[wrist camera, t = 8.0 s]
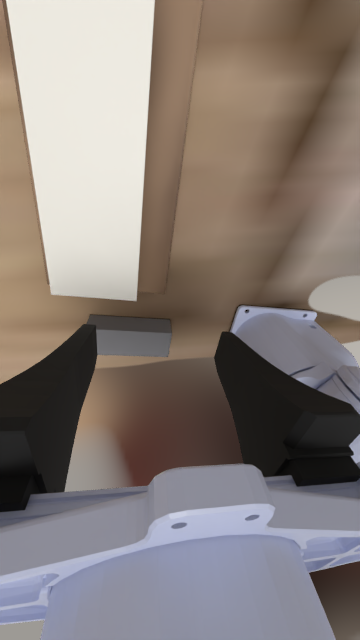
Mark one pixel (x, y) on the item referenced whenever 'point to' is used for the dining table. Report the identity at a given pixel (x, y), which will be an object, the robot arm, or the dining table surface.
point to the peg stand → (156, 133)
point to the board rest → (131, 336)
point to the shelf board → (86, 135)
